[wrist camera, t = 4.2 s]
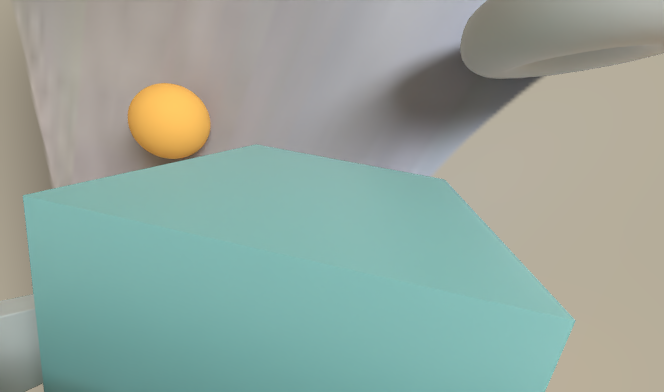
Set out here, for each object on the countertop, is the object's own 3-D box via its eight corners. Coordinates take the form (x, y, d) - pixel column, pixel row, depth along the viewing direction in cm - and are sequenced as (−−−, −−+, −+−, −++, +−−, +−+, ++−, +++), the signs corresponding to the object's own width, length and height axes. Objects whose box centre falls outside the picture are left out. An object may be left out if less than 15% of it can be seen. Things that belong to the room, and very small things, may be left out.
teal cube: (256, 144, 13) (22, 195, 5) (444, 179, 12) (575, 320, 4) (241, 303, 15) (60, 538, 7) (401, 343, 14) (423, 672, 6)
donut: (622, 8, 18) (886, -122, 9) (616, 71, 19) (854, 15, 9) (443, 32, 20) (498, -54, 10) (443, 89, 21) (496, 57, 11)
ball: (163, 83, 24) (107, 72, 19) (225, 93, 23) (184, 85, 18) (161, 149, 25) (107, 154, 20) (220, 160, 24) (180, 169, 20)
